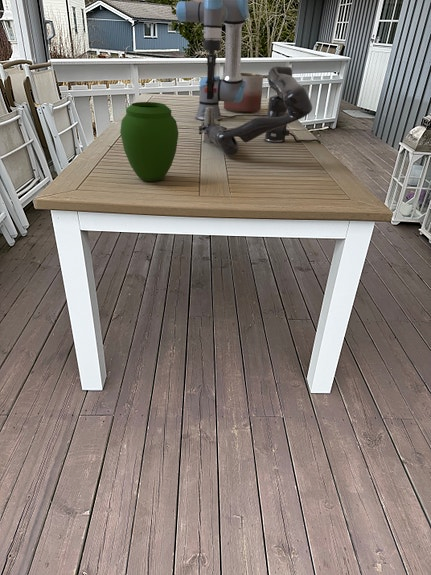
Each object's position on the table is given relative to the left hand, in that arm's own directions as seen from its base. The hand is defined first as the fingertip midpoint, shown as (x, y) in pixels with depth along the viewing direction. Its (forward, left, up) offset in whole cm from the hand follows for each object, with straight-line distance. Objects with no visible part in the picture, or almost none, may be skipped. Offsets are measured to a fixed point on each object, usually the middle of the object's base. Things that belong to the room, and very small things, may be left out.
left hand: (210, 98), depth 189 cm
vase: (+42, +50, -20) cm, 68 cm away
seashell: (-9, -19, -20) cm, 29 cm away
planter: (-57, -82, -20) cm, 102 cm away
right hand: (0, -2, -13) cm, 13 cm away
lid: (0, 0, +4) cm, 4 cm away
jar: (0, 0, -20) cm, 20 cm away
